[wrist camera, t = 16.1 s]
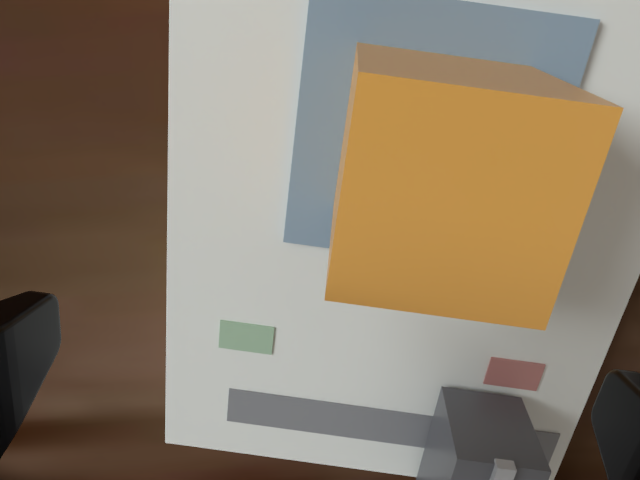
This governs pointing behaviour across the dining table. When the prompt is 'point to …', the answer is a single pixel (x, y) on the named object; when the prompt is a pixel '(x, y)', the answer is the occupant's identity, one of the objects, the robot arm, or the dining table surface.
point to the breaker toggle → (481, 439)
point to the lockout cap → (462, 185)
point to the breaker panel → (316, 221)
